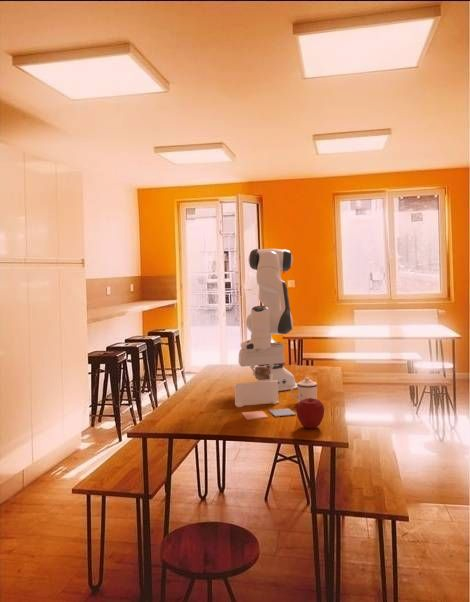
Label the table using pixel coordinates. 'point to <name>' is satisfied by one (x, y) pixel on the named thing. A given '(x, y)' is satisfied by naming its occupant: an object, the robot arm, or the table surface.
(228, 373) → the table surface
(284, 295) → the robot arm
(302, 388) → the teacup with lid
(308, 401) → the apple
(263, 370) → the cube with pink top
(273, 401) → the screen
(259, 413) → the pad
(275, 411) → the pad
